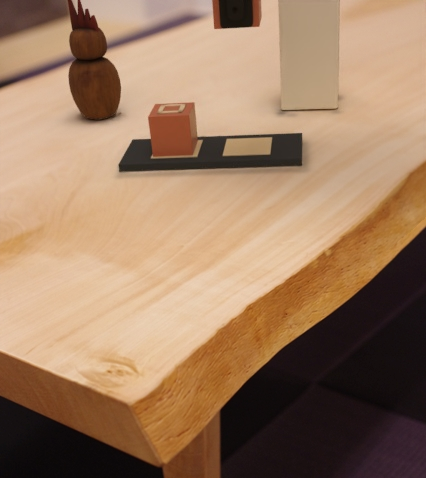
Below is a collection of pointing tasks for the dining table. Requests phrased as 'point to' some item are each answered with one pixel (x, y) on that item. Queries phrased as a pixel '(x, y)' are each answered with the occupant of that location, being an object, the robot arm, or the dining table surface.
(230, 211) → the dining table surface
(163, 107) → the red letter o block
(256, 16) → the red letter k block
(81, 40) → the wooden figurine
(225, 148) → the word mat
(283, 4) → the milk carton
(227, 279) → the dining table surface
